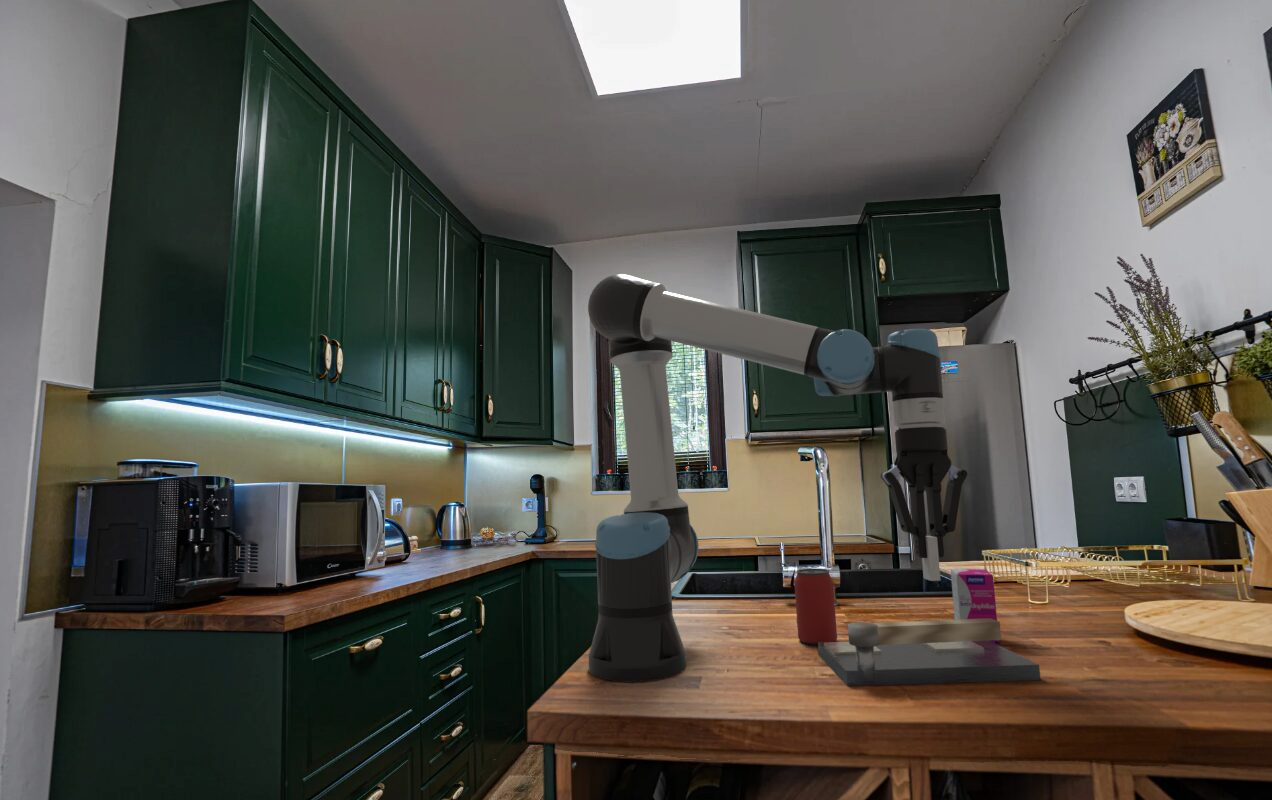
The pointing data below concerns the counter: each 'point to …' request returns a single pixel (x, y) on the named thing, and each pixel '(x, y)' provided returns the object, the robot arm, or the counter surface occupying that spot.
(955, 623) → the rail
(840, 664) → the board
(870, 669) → the post
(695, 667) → the counter surface
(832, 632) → the beer can
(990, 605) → the supplement box
